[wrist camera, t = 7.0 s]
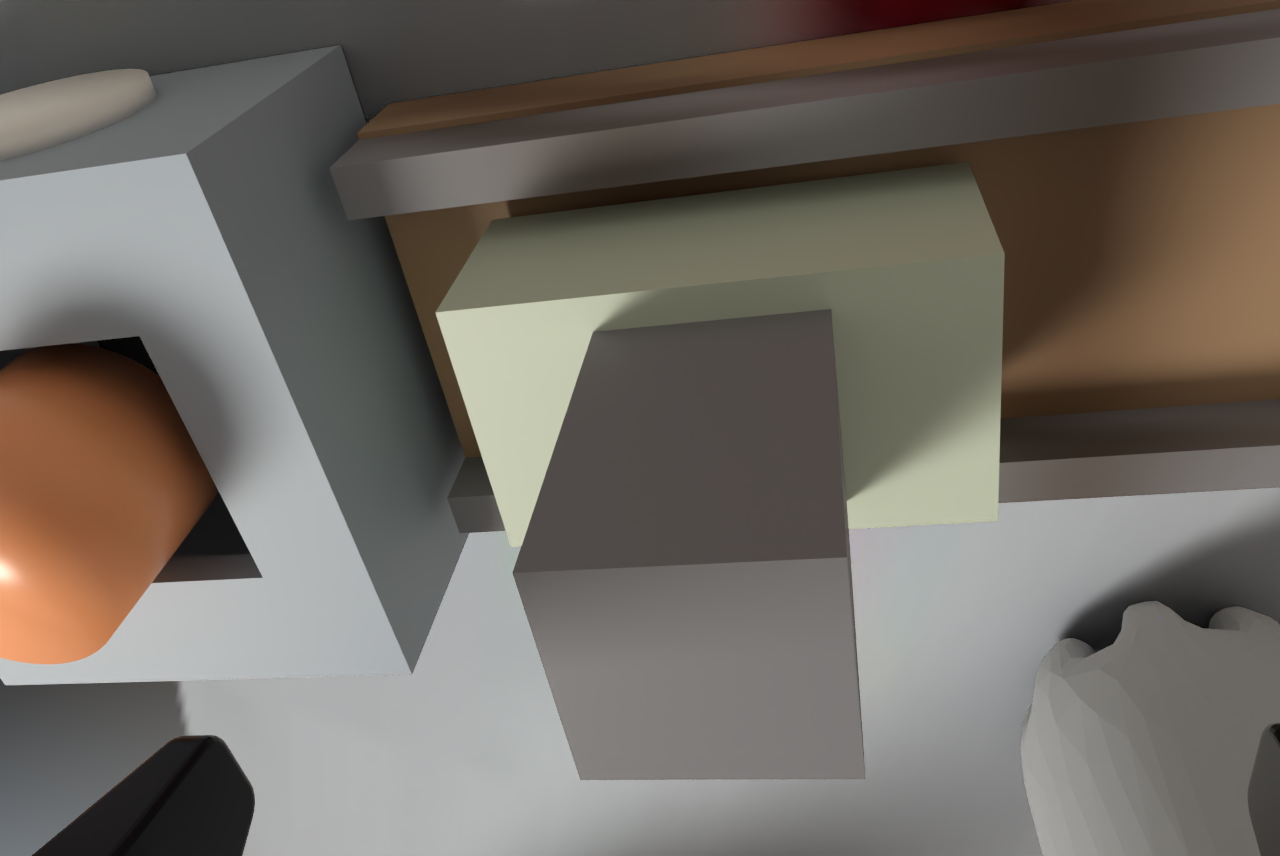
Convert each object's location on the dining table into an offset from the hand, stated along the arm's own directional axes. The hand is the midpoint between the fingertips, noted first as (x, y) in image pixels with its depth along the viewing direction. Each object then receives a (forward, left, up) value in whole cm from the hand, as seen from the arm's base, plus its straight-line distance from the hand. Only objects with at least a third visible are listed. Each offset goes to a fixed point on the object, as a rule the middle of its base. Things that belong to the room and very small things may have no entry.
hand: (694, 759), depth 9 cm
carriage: (0, 0, -9) cm, 9 cm away
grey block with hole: (-10, 0, -10) cm, 14 cm away
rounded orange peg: (-10, 0, -6) cm, 12 cm away
